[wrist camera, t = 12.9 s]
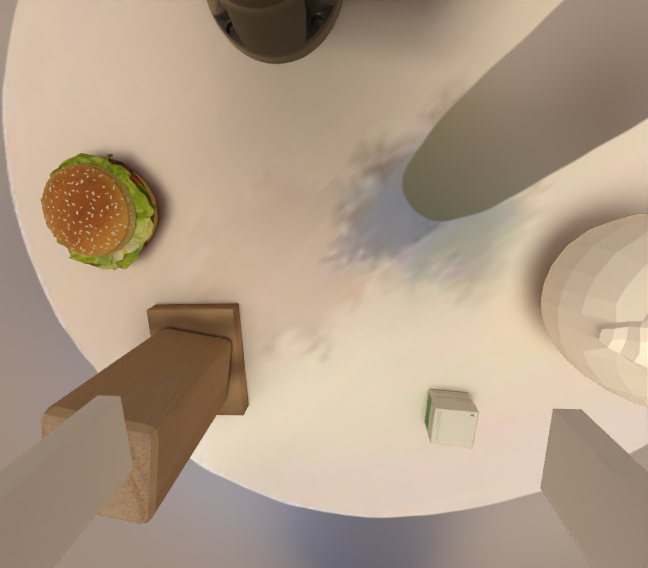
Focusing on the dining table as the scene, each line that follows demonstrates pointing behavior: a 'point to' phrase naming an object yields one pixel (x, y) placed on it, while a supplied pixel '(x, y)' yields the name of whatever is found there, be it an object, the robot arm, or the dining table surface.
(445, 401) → the small box
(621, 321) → the pitcher
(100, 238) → the food
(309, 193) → the dining table surface
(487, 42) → the dining table surface
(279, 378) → the dining table surface
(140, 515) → the wooden block
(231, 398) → the board
